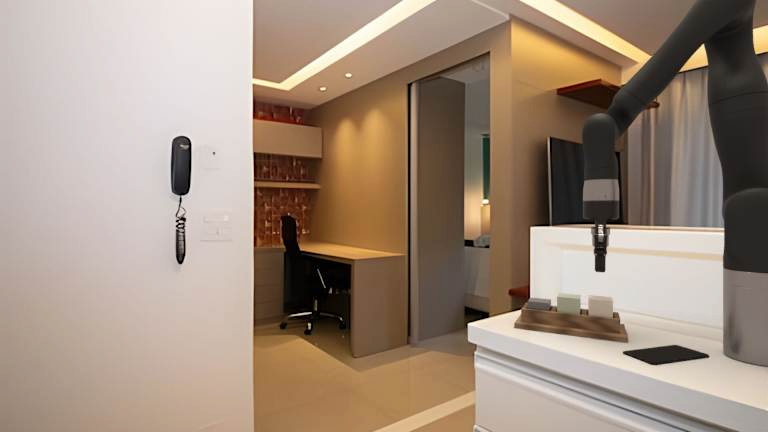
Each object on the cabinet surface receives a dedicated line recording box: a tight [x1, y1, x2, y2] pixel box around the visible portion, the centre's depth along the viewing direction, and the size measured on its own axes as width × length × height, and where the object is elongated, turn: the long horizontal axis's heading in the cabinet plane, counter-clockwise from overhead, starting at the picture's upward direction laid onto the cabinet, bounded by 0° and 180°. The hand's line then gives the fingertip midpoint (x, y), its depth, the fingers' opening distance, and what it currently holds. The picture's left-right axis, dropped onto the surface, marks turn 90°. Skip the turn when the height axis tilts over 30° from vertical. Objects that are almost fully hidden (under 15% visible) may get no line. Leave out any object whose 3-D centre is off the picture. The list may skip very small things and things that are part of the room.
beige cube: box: [587, 294, 614, 318], centre depth 92 cm, size 5×5×5 cm
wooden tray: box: [513, 302, 629, 344], centre depth 95 cm, size 24×12×4 cm, turn 61°
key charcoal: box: [527, 297, 552, 311], centre depth 99 cm, size 5×5×5 cm
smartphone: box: [622, 344, 710, 366], centre depth 77 cm, size 7×1×15 cm
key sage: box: [556, 292, 582, 314], centre depth 95 cm, size 5×5×5 cm
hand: (600, 271), depth 92 cm, fingers closed
